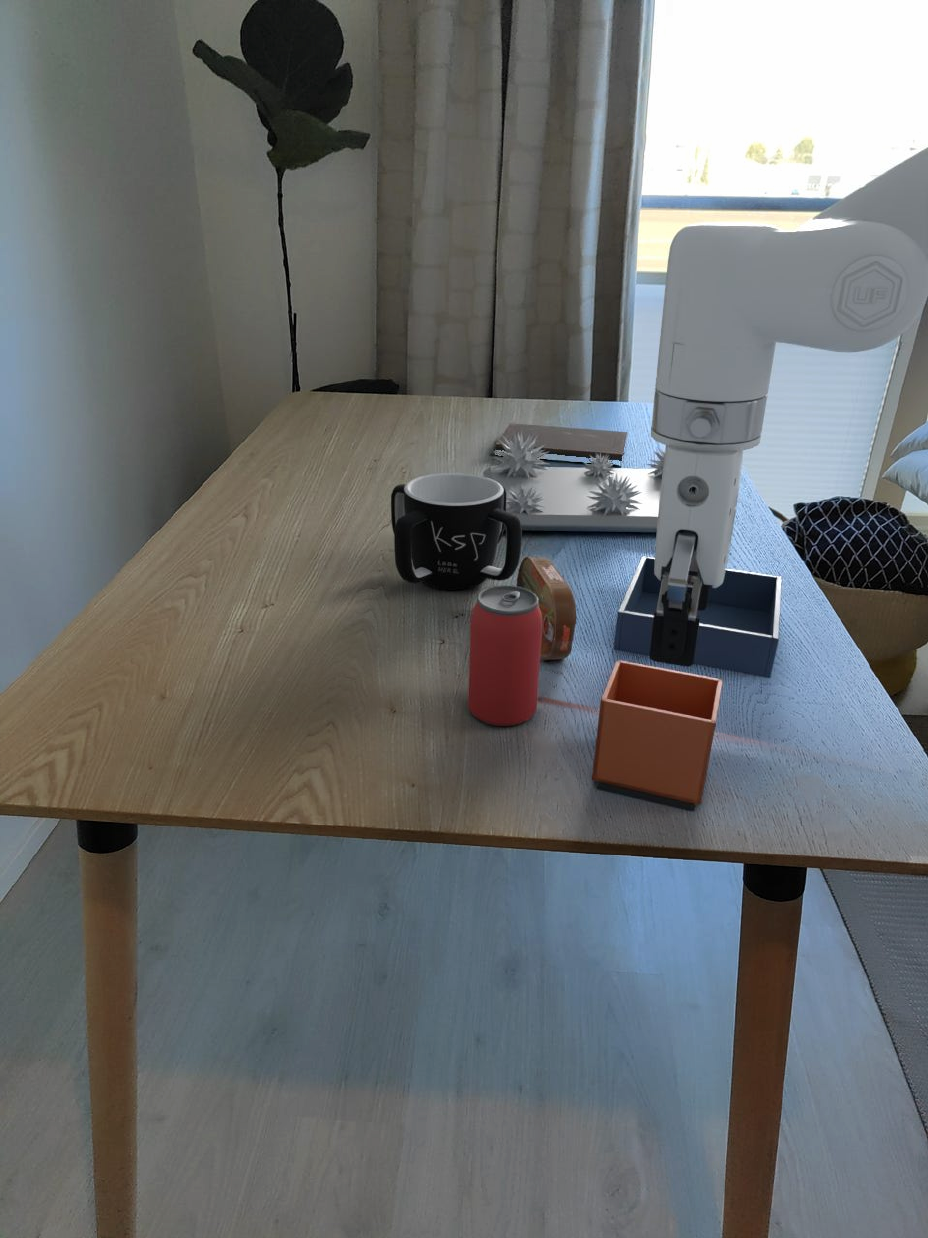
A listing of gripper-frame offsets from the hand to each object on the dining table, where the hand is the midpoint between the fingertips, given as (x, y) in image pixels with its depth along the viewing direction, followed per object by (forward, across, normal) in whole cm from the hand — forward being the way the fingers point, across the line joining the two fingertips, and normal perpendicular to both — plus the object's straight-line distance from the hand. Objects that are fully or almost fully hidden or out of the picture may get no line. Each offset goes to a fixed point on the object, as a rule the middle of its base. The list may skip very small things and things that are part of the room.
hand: (679, 632), depth 68 cm
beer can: (+14, +4, +16) cm, 21 cm away
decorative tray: (+14, +64, +19) cm, 68 cm away
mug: (+13, +31, +31) cm, 46 cm away
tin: (+14, +19, +16) cm, 28 cm away
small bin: (+13, 0, +1) cm, 13 cm away
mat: (+14, 0, +1) cm, 14 cm away
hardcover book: (+14, +93, +32) cm, 99 cm away
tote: (+14, +27, 0) cm, 31 cm away
